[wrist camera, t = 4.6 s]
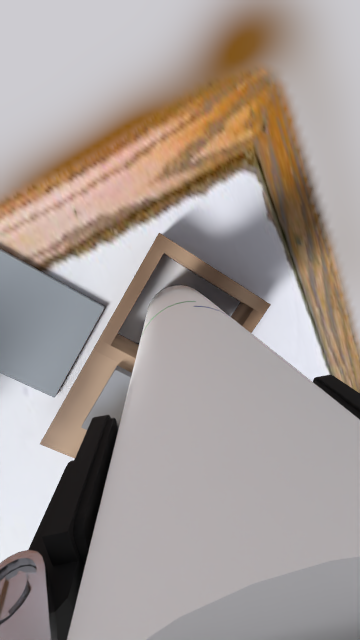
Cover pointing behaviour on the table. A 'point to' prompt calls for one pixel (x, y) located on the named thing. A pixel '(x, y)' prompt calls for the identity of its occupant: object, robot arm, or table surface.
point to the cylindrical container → (223, 494)
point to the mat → (41, 325)
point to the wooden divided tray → (131, 350)
